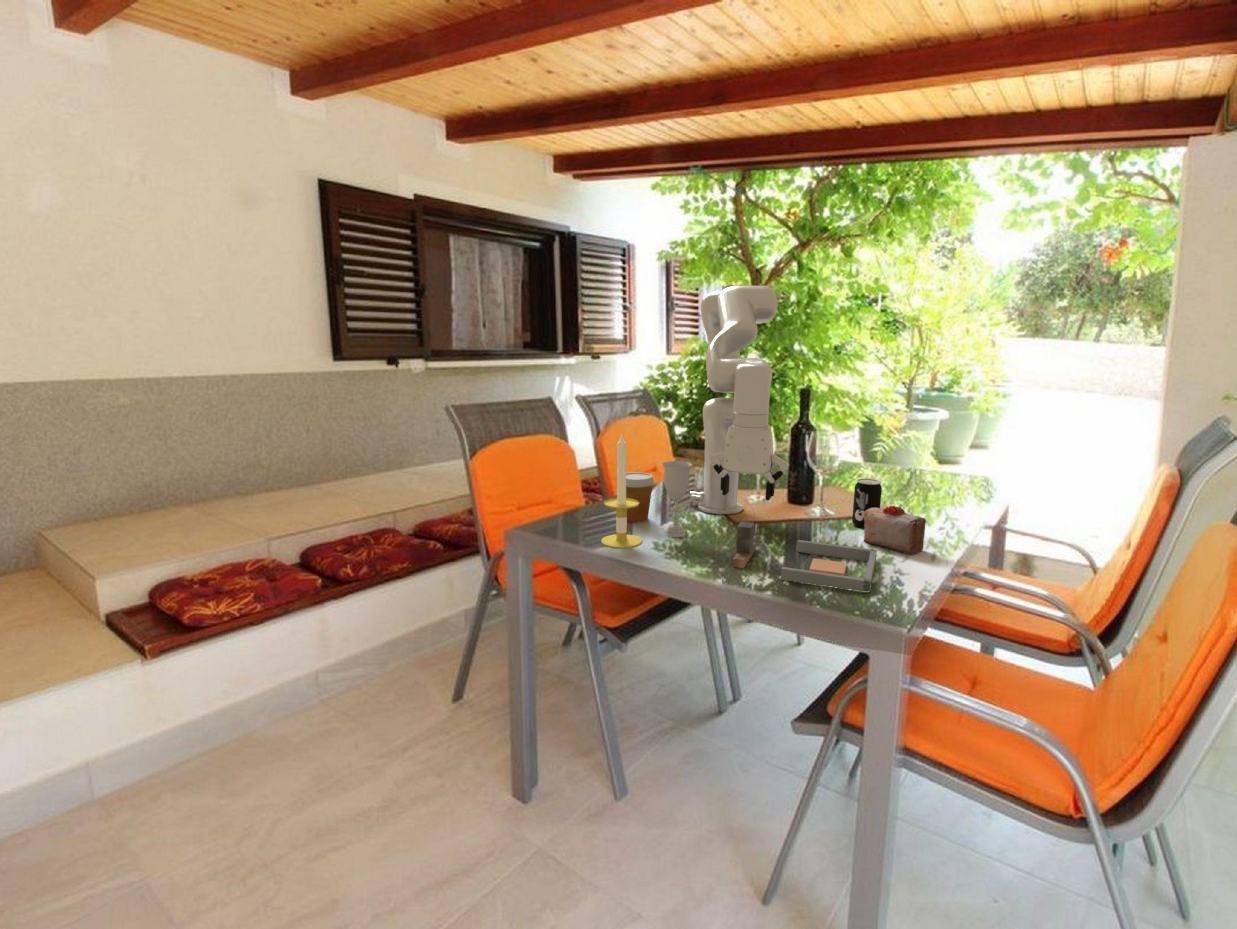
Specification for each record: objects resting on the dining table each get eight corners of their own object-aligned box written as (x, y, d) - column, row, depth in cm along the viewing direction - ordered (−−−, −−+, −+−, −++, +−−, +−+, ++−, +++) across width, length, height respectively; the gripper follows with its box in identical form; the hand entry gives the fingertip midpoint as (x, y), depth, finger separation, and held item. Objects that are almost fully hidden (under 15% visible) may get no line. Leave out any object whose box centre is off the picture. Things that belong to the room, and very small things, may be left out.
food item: (856, 542, 163) (859, 502, 161) (874, 535, 168) (878, 497, 166) (910, 557, 153) (914, 515, 151) (927, 550, 157) (932, 509, 155)
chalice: (692, 531, 171) (694, 462, 167) (686, 539, 164) (688, 467, 161) (665, 528, 173) (666, 460, 169) (657, 536, 167) (658, 465, 163)
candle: (594, 538, 165) (594, 430, 160) (631, 533, 169) (632, 427, 164) (610, 550, 156) (610, 436, 151) (649, 545, 160) (650, 433, 155)
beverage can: (880, 530, 172) (884, 484, 170) (853, 528, 173) (857, 483, 171) (876, 522, 178) (880, 478, 176) (850, 521, 180) (853, 477, 177)
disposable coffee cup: (612, 516, 183) (612, 474, 181) (642, 512, 188) (643, 470, 185) (628, 526, 175) (629, 481, 173) (660, 521, 179) (661, 477, 177)
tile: (809, 575, 143) (809, 568, 142) (812, 564, 149) (813, 558, 149) (843, 580, 140) (844, 573, 140) (846, 569, 147) (846, 562, 146)
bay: (780, 580, 139) (781, 568, 138) (797, 550, 157) (798, 539, 157) (869, 593, 132) (870, 581, 131) (875, 560, 150) (876, 549, 150)
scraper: (731, 567, 147) (732, 532, 145) (744, 548, 158) (745, 516, 157) (745, 569, 146) (746, 533, 144) (756, 550, 157) (758, 517, 156)
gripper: (706, 420, 146) (704, 496, 150) (787, 426, 139) (782, 505, 143) (716, 415, 152) (713, 487, 156) (794, 420, 145) (789, 496, 150)
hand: (746, 496), depth 150 cm, fingers open, 9 cm apart
